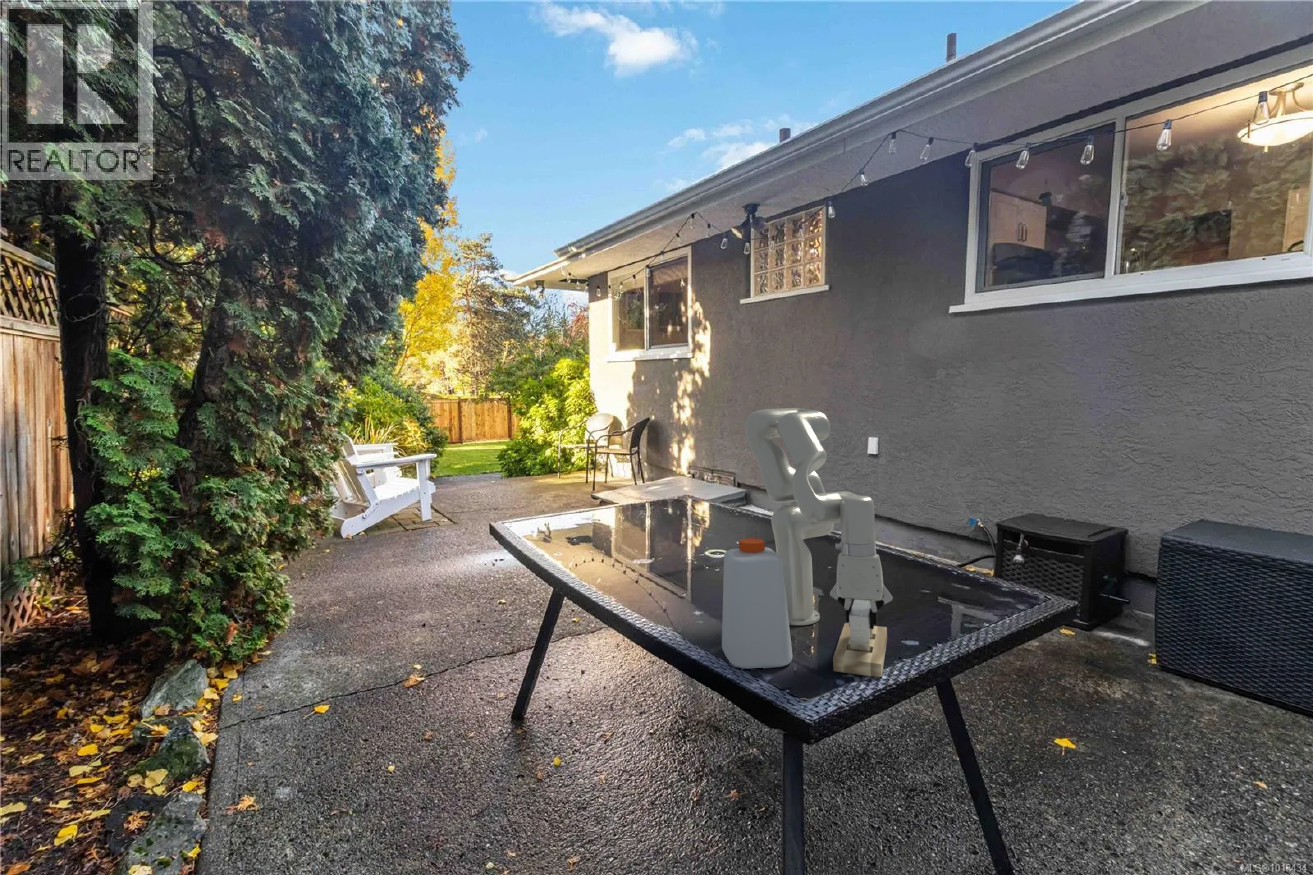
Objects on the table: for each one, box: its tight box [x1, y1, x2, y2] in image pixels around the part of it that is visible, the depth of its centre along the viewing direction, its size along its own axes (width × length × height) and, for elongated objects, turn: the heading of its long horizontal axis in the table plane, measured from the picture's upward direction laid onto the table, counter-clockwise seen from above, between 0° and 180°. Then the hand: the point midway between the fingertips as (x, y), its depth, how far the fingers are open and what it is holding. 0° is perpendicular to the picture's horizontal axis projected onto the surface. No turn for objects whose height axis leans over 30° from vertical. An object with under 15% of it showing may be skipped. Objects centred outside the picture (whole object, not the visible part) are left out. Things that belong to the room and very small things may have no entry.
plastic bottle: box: [721, 537, 793, 669], centre depth 137 cm, size 15×15×28 cm
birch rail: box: [832, 622, 888, 678], centre depth 136 cm, size 10×22×3 cm, turn 155°
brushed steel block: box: [848, 599, 873, 651], centre depth 136 cm, size 4×12×8 cm, turn 155°
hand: (861, 625), depth 136 cm, fingers closed on brushed steel block, 4 cm apart
